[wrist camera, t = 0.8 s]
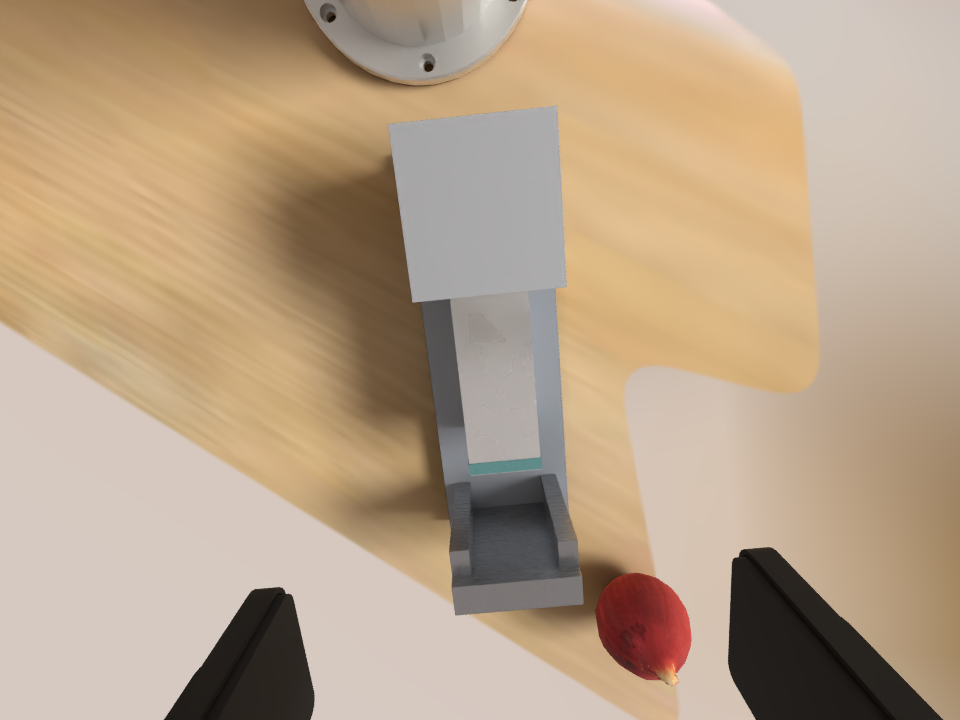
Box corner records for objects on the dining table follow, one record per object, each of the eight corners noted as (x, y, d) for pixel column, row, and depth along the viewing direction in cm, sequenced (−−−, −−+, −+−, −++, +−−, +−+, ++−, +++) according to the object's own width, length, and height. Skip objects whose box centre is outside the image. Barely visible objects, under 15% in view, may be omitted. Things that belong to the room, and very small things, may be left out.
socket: (455, 482, 31) (448, 562, 23) (555, 473, 31) (580, 550, 23) (460, 525, 32) (455, 615, 24) (558, 516, 32) (583, 604, 24)
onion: (591, 621, 35) (623, 729, 27) (579, 556, 34) (609, 651, 26) (668, 607, 35) (723, 713, 27) (660, 542, 33) (715, 633, 26)
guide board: (403, 152, 27) (368, 112, 18) (543, 137, 27) (574, 88, 18) (451, 519, 33) (442, 621, 24) (565, 509, 33) (597, 608, 24)
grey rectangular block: (441, 167, 26) (430, 146, 20) (508, 160, 26) (518, 136, 20) (471, 428, 30) (469, 476, 24) (529, 423, 30) (542, 469, 24)
